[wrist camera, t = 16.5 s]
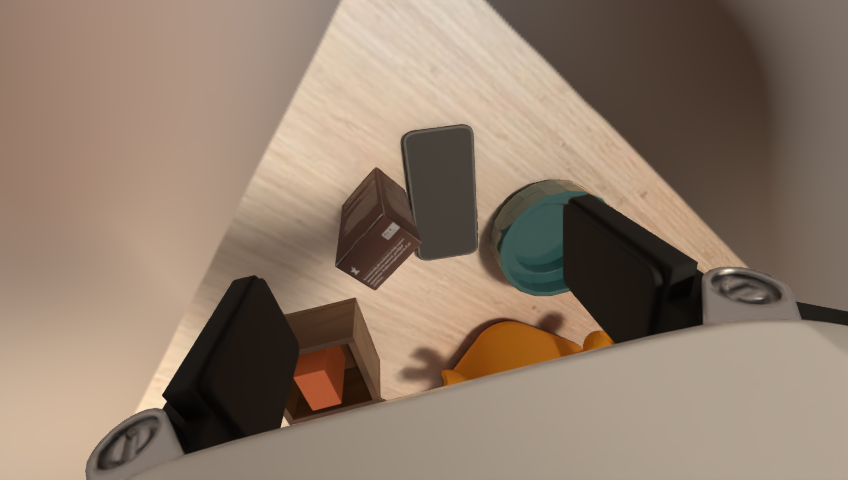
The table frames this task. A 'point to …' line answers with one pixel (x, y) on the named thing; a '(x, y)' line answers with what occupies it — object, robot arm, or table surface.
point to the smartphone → (442, 190)
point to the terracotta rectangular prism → (321, 377)
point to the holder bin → (361, 362)
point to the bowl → (534, 237)
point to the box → (376, 230)
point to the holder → (516, 350)
